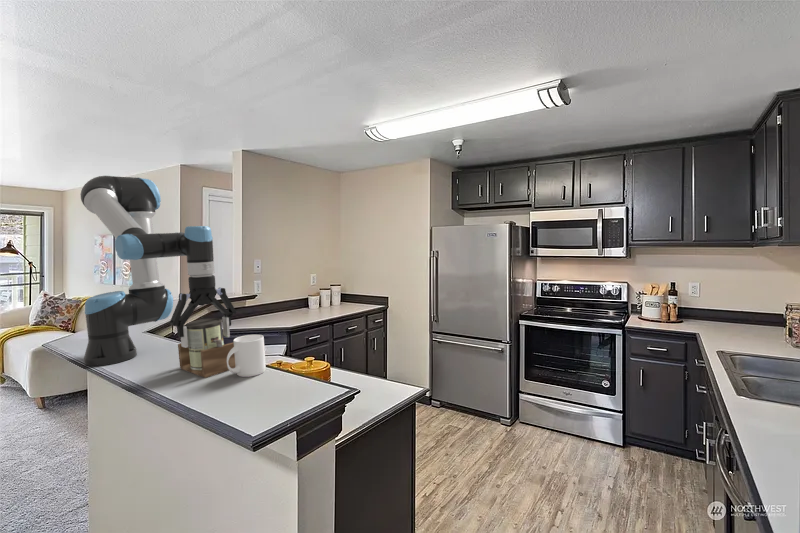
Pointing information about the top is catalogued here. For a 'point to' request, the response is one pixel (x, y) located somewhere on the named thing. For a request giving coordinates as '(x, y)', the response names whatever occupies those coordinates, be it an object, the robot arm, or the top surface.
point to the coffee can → (202, 338)
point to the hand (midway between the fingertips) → (206, 341)
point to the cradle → (209, 359)
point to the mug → (248, 355)
